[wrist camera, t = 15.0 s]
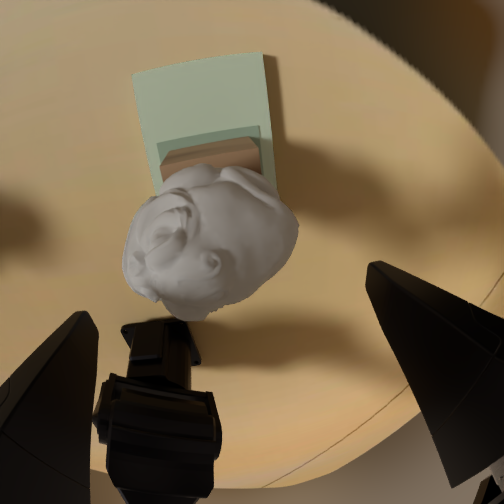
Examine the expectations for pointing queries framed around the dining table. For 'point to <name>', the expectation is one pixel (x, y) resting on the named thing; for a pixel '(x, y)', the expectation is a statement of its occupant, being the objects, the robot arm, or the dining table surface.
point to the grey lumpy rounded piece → (208, 240)
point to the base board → (204, 107)
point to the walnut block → (213, 156)
